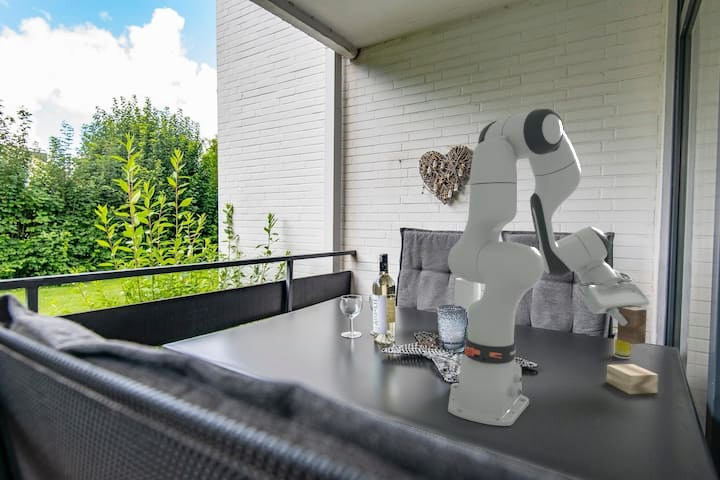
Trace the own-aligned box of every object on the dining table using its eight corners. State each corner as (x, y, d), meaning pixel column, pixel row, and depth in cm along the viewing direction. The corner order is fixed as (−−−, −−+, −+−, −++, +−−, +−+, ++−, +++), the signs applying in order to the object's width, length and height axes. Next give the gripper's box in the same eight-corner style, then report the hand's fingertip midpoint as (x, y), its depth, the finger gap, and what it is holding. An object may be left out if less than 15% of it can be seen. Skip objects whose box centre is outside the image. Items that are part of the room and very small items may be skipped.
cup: (483, 331, 161) (484, 278, 160) (475, 337, 152) (477, 281, 152) (458, 327, 167) (459, 276, 166) (449, 333, 158) (450, 279, 157)
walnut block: (633, 344, 104) (635, 310, 104) (617, 339, 108) (618, 307, 108) (645, 342, 106) (646, 309, 105) (628, 338, 110) (629, 306, 110)
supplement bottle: (632, 359, 130) (634, 334, 129) (616, 358, 130) (618, 333, 130) (626, 355, 134) (627, 330, 134) (610, 353, 135) (611, 329, 135)
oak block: (629, 394, 103) (630, 375, 102) (606, 382, 111) (607, 364, 110) (657, 393, 104) (658, 374, 103) (632, 381, 112) (633, 364, 111)
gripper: (582, 276, 109) (615, 320, 100) (633, 274, 117) (668, 315, 108) (568, 290, 113) (598, 332, 105) (618, 287, 121) (650, 327, 112)
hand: (634, 323), depth 106 cm, fingers closed on walnut block, 4 cm apart
